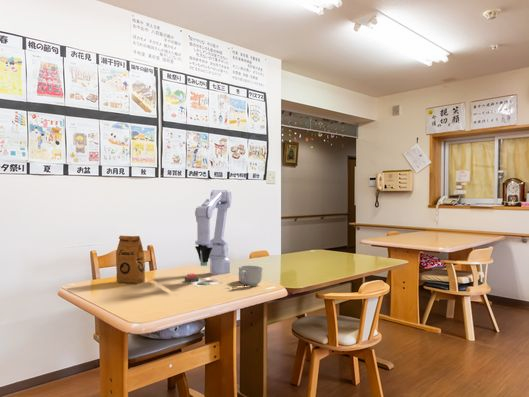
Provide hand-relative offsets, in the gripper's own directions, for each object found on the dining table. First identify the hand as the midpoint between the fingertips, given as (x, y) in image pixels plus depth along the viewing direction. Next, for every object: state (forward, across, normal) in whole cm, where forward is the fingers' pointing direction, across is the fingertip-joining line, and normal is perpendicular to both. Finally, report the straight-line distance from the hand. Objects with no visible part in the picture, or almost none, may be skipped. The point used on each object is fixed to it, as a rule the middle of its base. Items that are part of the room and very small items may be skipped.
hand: (203, 261), depth 179 cm
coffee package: (+10, -22, -27) cm, 37 cm away
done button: (+7, -3, -5) cm, 9 cm away
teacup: (+10, +14, +15) cm, 23 cm away
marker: (+2, 0, 0) cm, 2 cm away
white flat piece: (+10, +2, -1) cm, 10 cm away
